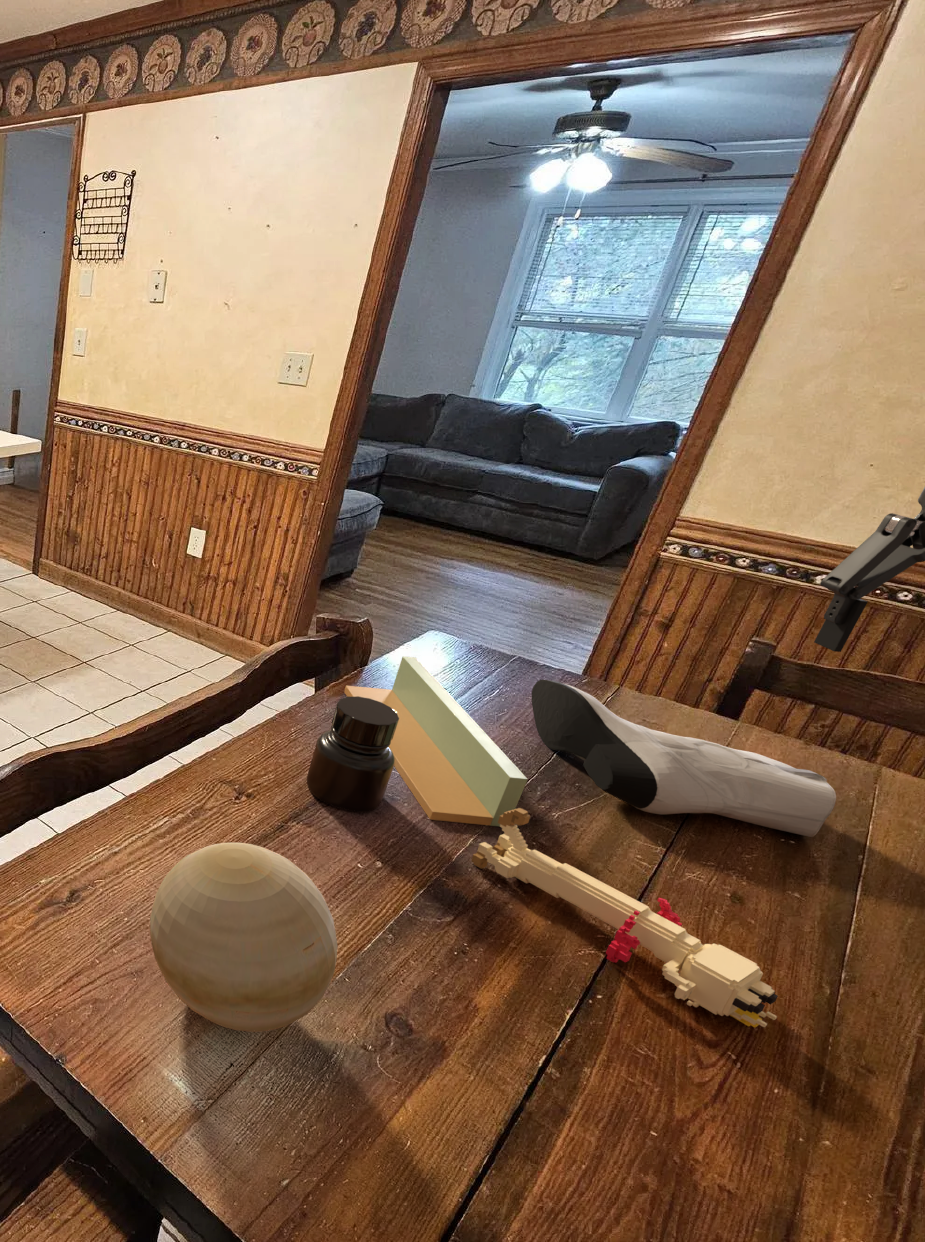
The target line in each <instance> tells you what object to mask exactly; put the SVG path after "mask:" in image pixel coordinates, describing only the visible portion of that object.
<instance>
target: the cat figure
mask: <svg viewBox="0 0 925 1242" xmlns="http://www.w3.org/2000/svg"><path fill="white" fill-rule="evenodd" d="M530 819H531V815H530V814H529V811H527V810H526V809H524V808H521V807H518V808H517V807H516V808H515V809H514V810H510V811H507V812H504V814H503V815H501V816H500V817H499V820H498V823H499V824H500V826H499V828H501V831H502V832H503V834H500V835H499V836H498V839H497V842H496V844H495V845H493V846H492V845H491V844H489V843H487V842H486V841H483V842H481V843H478V847H477V850H476V852H475V853H473V854H472V857H471V860H470V861H471V863H473V865H474V866H475V867H477V868H479V869H482V870H483V869H484V868H486V867H487V866H488V864H490V865H492V866H494V868H493V869H494V870H495V872H496V873H497V874H498V875H500V876H502V877H504V878H506V879H510V878H511V879H513V878H516V879H518V880H519V881H521V882H523V883H525V884H529V883H530V884H531V885H533V886H535V887H536V888H539V889H540V890H542V891H544V892H545V893H547V894H549V895H551V896H552V897H555V898H556V899H560V898H561V899H563V900H565V901H567V902H568V903H570V904H572V905H573V906H575V907H578V908H579V909H581V910H582V911H584V912H586V913H587V914H590V915H592V916H593V917H595V918H597V919H598V920H600V921H602V922H604V923H606V924H607V925H609V926H611V927H612V928H615V929H616V932H615V935H614V938H613V940H611V942H610V944H608V946H607V947H606V948H607V949H606V951H605V954H606V959H607V960H608V961H610V962H612V963H615V964H617V963H618V962H619V960H620V961H622V962H623V963H627V962H629V961H630V959H631V958H632V957H631V956H632V955H633V952H631V949H633V950H636V949H637V948H638V946H641V947H643V948H644V949H647V950H649V951H650V952H652V954H653V956H654V957H655V958H657V959H658V960H661V961H662V962H664V964H663V966H662V968H661V971H662V973H661V975H662V976H664V979H665V980H667V981H669V982H670V983H672V984H674V986H676V989H675V991H674V993H673V994H674V998H675V999H676V1000H677V999H678V1000H680V999H681V1000H682V1001H685V1000H688V1001H686V1005H687V1006H689V1007H691V1006H692V1007H694V1008H698V1007H699V1006H700V1007H702V1008H704V1009H705V1010H707V1011H709V1012H710V1013H711V1014H714V1015H715V1016H716V1015H718V1016H721V1017H724V1016H726V1017H729V1016H730V1017H731V1018H733V1019H735V1020H736V1021H738V1022H740V1023H742V1024H744V1025H745V1026H747V1027H753V1028H754V1029H755V1028H757V1027H758V1026H760V1027H762V1028H766V1027H767V1026H768V1022H765V1021H764V1020H763V1019H764V1018H766V1017H767V1018H770V1019H771V1020H773V1021H775V1020H776V1019H777V1018H778V1016H777V1015H775V1014H773V1013H772V1012H771V1011H769V1010H768V1011H767V1012H765V1011H763V1010H764V1008H765V1007H766V1005H765V1003H766V1004H768V1005H772V1004H774V1003H775V1002H776V1001H777V999H778V997H779V996H778V995H777V994H776V990H775V989H773V986H770V985H769V984H767V983H765V982H763V981H762V980H761V979H762V978H763V975H764V973H763V971H762V970H761V967H760V966H758V963H757V962H754V961H752V960H750V959H749V958H747V957H745V956H744V955H741V954H740V953H737V952H736V951H733V950H732V949H730V948H728V947H726V946H723V945H722V944H720V943H719V944H716V943H712V944H710V943H704V944H703V943H702V942H701V939H699V938H697V937H695V936H693V935H691V934H689V933H688V932H687V929H686V928H684V927H682V926H683V923H682V922H681V917H680V916H679V914H678V913H676V912H674V911H673V909H672V906H671V903H670V902H669V900H667V899H666V898H662V897H658V898H657V900H656V901H657V902H658V903H659V905H658V906H659V907H660V908H659V909H660V910H659V911H657V912H656V913H655V912H654V911H652V910H651V908H650V906H648V905H646V904H645V903H643V902H640V901H639V900H637V899H635V898H633V897H631V896H629V895H627V894H626V893H623V892H622V891H620V890H618V889H616V888H614V887H612V886H610V885H609V884H607V883H604V882H603V881H601V880H599V879H597V878H595V877H593V876H591V875H589V874H588V873H585V872H584V871H581V870H580V869H578V868H576V867H575V866H572V865H570V864H568V863H566V862H564V863H561V862H559V861H557V860H555V859H554V858H552V857H550V856H549V855H546V854H544V853H542V852H540V851H539V850H537V849H530V848H528V846H529V845H528V844H527V843H526V842H527V841H526V840H525V839H524V836H523V835H522V832H520V829H519V828H518V826H520V827H521V826H524V825H527V824H529V822H530Z"/></svg>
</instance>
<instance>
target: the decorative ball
mask: <svg viewBox="0 0 925 1242" xmlns="http://www.w3.org/2000/svg"><path fill="white" fill-rule="evenodd" d="M149 935H150V942H151V947H152V951H153V955H154V959H155V961H156V963H157V966H158V968H159V971H160V972H161V974H162V976H163V978H164V980H165V981H166V983H167V985H169V987H170V989H171V990H172V991H173V992H174V994H175V995H176V996H177V998H179V999H180V1000H181V1002H182V1003H183V1004H185V1005H186V1006H187V1007H188V1009H190V1010H191V1011H193V1012H195V1014H198V1015H199V1016H201V1017H203V1018H205V1019H206V1020H207V1021H210V1022H211V1023H213V1024H216V1025H218V1026H220V1027H223V1028H225V1029H226V1028H227V1029H230V1030H234V1031H238V1032H248V1033H260V1032H261V1033H262V1032H263V1033H264V1032H269V1031H274V1030H279V1029H281V1028H284V1027H287V1026H289V1025H291V1024H293V1023H296V1022H297V1021H298V1020H300V1019H302V1018H303V1017H304V1016H306V1015H308V1014H309V1013H310V1012H311V1011H312V1010H313V1009H314V1008H315V1007H316V1006H317V1004H318V1003H320V1001H321V999H322V998H323V997H324V996H325V994H326V992H327V990H328V989H329V987H330V985H331V982H332V979H333V977H334V974H335V971H336V964H337V957H338V938H337V931H336V927H335V920H334V917H333V915H332V913H331V910H330V908H329V906H328V904H327V901H326V899H325V897H324V895H323V893H322V892H321V891H320V890H319V888H318V887H317V885H316V884H315V883H314V881H313V880H312V879H311V878H310V876H309V875H308V874H307V873H306V872H304V871H303V870H302V869H301V868H300V867H299V866H297V865H296V863H294V862H293V861H291V860H290V859H289V858H287V857H285V856H283V855H282V854H280V853H277V852H275V851H273V850H270V849H268V848H266V847H263V846H260V845H256V844H252V843H247V842H246V843H245V842H231V841H230V842H220V843H214V844H211V845H207V846H204V847H202V848H200V849H197V850H196V851H194V852H192V853H189V854H187V855H185V856H184V857H183V858H181V859H180V860H179V861H178V862H177V863H176V864H175V865H174V866H173V867H172V868H171V869H170V870H169V872H167V873H166V874H165V876H164V878H163V879H162V882H161V884H160V885H159V887H158V889H157V891H156V893H155V895H154V899H153V903H152V907H151V911H150V917H149Z"/></svg>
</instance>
